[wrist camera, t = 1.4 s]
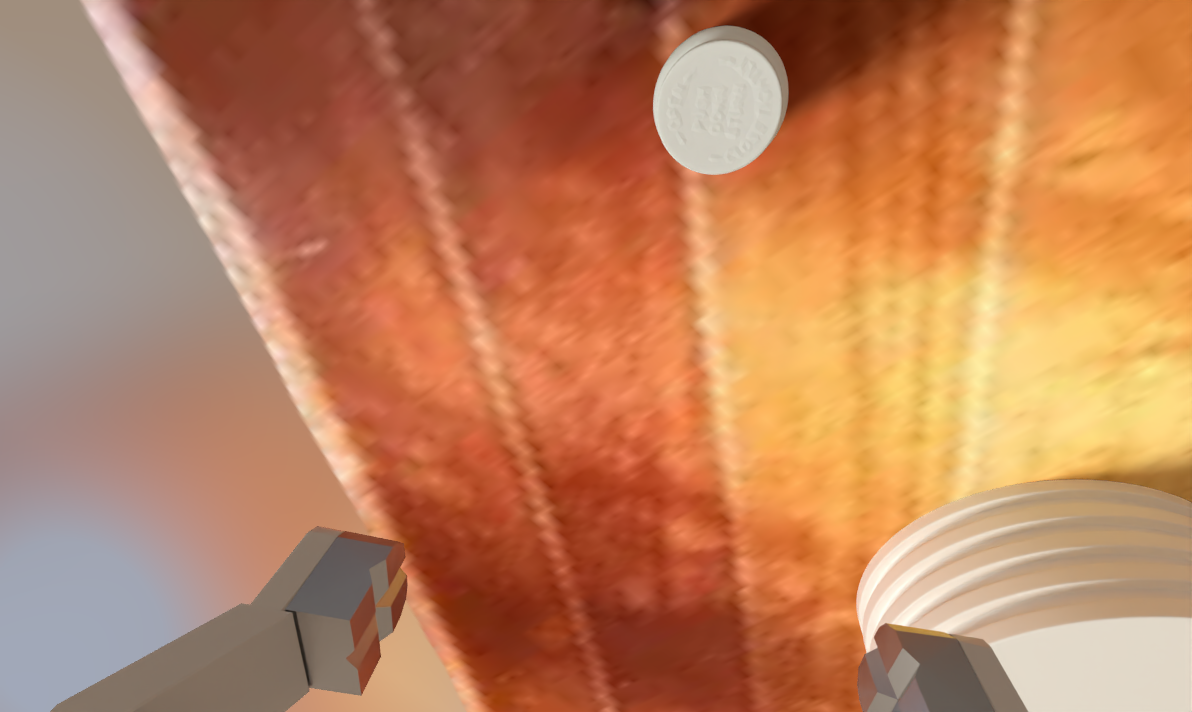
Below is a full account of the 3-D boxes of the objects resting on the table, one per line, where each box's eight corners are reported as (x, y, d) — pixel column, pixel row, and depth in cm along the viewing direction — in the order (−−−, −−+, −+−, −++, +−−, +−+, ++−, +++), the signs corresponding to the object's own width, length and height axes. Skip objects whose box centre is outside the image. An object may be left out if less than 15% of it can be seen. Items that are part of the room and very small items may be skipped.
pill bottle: (796, 60, 31) (832, 68, 21) (737, 163, 34) (745, 212, 24) (698, 8, 30) (689, -8, 21) (648, 117, 34) (620, 147, 24)
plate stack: (1356, 591, 40) (1561, 767, 30) (1034, 738, 55) (1103, 889, 45) (1037, 416, 38) (1147, 544, 29) (791, 616, 53) (808, 747, 43)
